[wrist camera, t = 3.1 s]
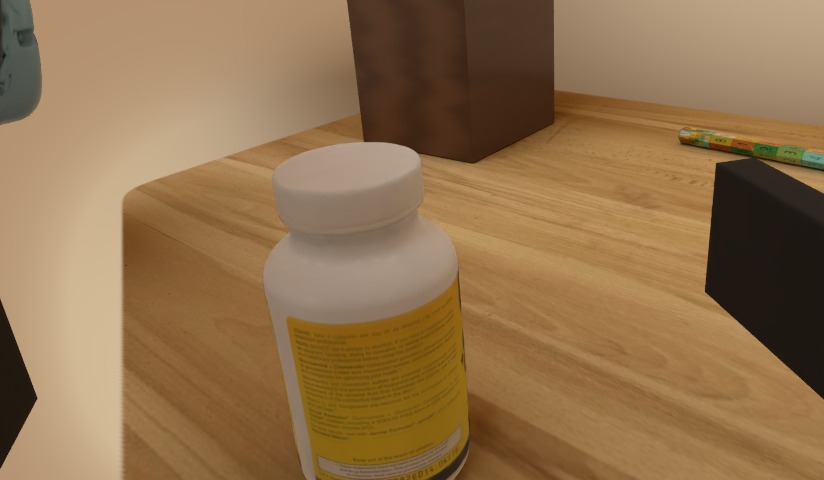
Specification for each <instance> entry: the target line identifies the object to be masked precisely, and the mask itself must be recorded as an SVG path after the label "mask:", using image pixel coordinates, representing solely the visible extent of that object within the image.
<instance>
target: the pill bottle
mask: <svg viewBox="0 0 824 480" xmlns="http://www.w3.org/2000/svg"><path fill="white" fill-rule="evenodd" d="M272 181H273V188H274V195H275V202H276V209H277V212H278V214H279V217H280V219H281V221H282V222H283V223H284V224H286V225H287V226H288V227H289V228H290V231H289V232H288V233H287V234H286V235H285V236H284V237H283V238H282V239H281V240H280V241H279V242H278V243H277V244H276V246H275V247H274V248H273V250H272V251H271V252H270V254H269V256H268V258H267V260H266V263H265V266H264V271H263V285H264V292H265V298H266V303H267V308H268V313H269V317H270V322H271V327H272V331H273V336H274V340H275V345H276V350H277V354H278V359H279V364H280V368H281V373H282V378H283V383H284V388H285V392H286V397H287V402H288V407H289V412H290V417H291V422H292V427H293V433H294V438H295V443H296V447H297V454H298V457H299V462H300V466H301V469H302V471H303V473H304V475H305V477H306V479H307V480H454V478H455V477H456V476H457V475H458V473H459V472H460V470H461V469H462V467H463V465H464V463H465V462H466V459H467V456H468V453H469V447H470V420H469V407H468V393H467V379H466V364H465V350H464V336H463V323H462V310H461V299H460V285H459V271H458V261H457V254H456V250H455V247H454V245H453V243H452V241H451V239H450V237H449V236H448V235H447V233H446V232H445V231H444V230H443V229H442V228H441V227H440V226H439V225H437V224H436V223H435V222H433V221H432V220H431V219H429V218H427V217H425V216H423V215H421V214H419V213H418V210H417V209H418V208H419V207H420V206H421V204H422V202H423V195H424V182H423V174H422V165H421V160H420V157H419V155H418V154H417V153H416V152H415V151H414V150H412V149H410V148H408V147H405V146H401V145H397V144H391V143H383V142H359V143H345V144H337V145H332V146H326V147H322V148H318V149H314V150H310V151H307V152H304V153H301V154H298V155H295V156H293V157H291V158H289V159H287V160H285V161H284V162H282V163H281V164H280V165H278V166H277V167H276V168H275V170H274V172H273V175H272Z"/></svg>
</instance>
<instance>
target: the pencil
mask: <svg viewBox="0 0 824 480" xmlns="http://www.w3.org/2000/svg"><path fill="white" fill-rule="evenodd" d="M678 137H679V141H680V142H681V143H692V145H697V146H702V147H708V148H715V149H720V150H725V151H730V152H735V153H741V154H746V155H751V156H756V157H761V158H767V159H772V160H777V161H782V162H787V163H792V164H798V165H803V166H808V167H813V168H818V169H824V152H820V151H815V150H809V149H804V148H798V147H792V146H787V145H781V144H775V143H770V142H764V141H758V140H753V139H747V138H741V137H736V136H730V135H724V134H719V133H716V132H710V131H704V130H699V129H697V130H695V129H692V128H689V127H685V128H683V129H681V130H680V133H679V136H678Z"/></svg>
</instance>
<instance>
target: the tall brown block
mask: <svg viewBox="0 0 824 480" xmlns="http://www.w3.org/2000/svg"><path fill="white" fill-rule="evenodd" d="M347 3H348V12H349V21H350V28H351V37H352V46H353V53H354V62H355V70H356V78H357V87H358V95H359V103H360V112H361V120H362V129H363V137H364V142H383V143H391V144H397V145H401V146H405V147H408V148H410V149H412V150H414V151H415V152H418V153H423V154H428V155H433V156H438V157H444V158H449V159H454V160H459V161H465V162H470V163H474V162H476V161H478V160H480V159H482V158H484V157H486V156H488V155H490V154H492V153H494V152H496V151H498V150H500V149H502V148H504V147H506V146H508V145H510V144H512V143H514V142H516V141H518V140H520V139H522V138H524V137H526V136H528V135H530V134H532V133H534V132H536V131H538V130H540V129H542V128H544V127H546V126H548V125H550V124H552V123H554V0H347Z"/></svg>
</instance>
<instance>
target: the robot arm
mask: <svg viewBox="0 0 824 480" xmlns="http://www.w3.org/2000/svg"><path fill="white" fill-rule="evenodd" d="M32 16H33V15H32V9H31V5H30V0H0V125H2V124H6V123H10V122H14V121H18V120H21V119H24V118H26V117H27V116H29V115H30V114H31V113H32V112H33V111H34V110H35V109H36V108H37V106H38V103H39V101H40V98H41V91H42V75H41V63H40V56H39V49H38V43H37V40H36V37H35V35H34V33H33V31H34V25H33V17H32ZM705 292H706V293H707V294H708V295H709V296H710V297H711V298H713V299H714V300H715V301H716V302H717V303H718V304H719V305H720V306H721V307H722V308H724V309H725V310H726V311H727V312H728V313H729V314H730V315H731V316H732V317H734V318H735V319H736V320H737V321H738V322H739V323H740V324H741V325H742V326H743V327H745V328H746V329H747V330H748V331H749V332H750V333H751V334H752V335H753V336H754V337H756V338H757V339H758V340H759V341H760V342H761V343H762V344H763V345H764V346H766V347H767V348H768V349H769V350H770V351H771V352H772V353H773V354H774V355H775V356H777V357H778V358H779V359H780V360H781V361H782V362H783V363H784V364H785V365H786V366H788V367H789V368H790V369H791V370H792V371H793V372H794V373H795V374H796V375H798V376H799V377H800V378H801V379H802V380H803V381H804V382H805V383H806V384H807V385H809V386H810V387H811V388H812V389H813V390H814V391H815V392H816V393H817V394H818V395H820V396H821V397H822V398H823V399H824V194H823V193H821V192H819V191H818V190H816V189H814V188H812V187H810V186H808V185H806V184H804V183H802V182H800V181H798V180H796V179H794V178H793V177H791V176H789V175H787V174H785V173H783V172H781V171H779V170H777V169H775V168H773V167H771V166H769V165H767V164H766V163H764V162H762V161H760V160H758V159H756V158H749V159H742V160H735V161H728V162H721V163H716V171H715V182H714V194H713V205H712V217H711V228H710V239H709V251H708V262H707V273H706V285H705ZM36 400H37V396H36V393H35V390H34V388H33V385H32V383H31V380H30V377H29V374H28V372H27V369H26V367H25V364H24V361H23V358H22V356H21V353H20V351H19V348H18V345H17V342H16V340H15V337H14V334H13V332H12V329H11V326H10V324H9V321H8V318H7V316H6V313H5V310H4V308H3V305H2V302H1V300H0V468H1V466H2V464H3V463H4V461H5V459H6V457H7V455H8V453H9V451H10V449H11V447H12V445H13V444H14V442H15V440H16V438H17V436H18V434H19V432H20V430H21V429H22V427H23V425H24V423H25V421H26V419H27V417H28V415H29V413H30V412H31V410H32V408H33V406H34V404H35V402H36Z"/></svg>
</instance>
